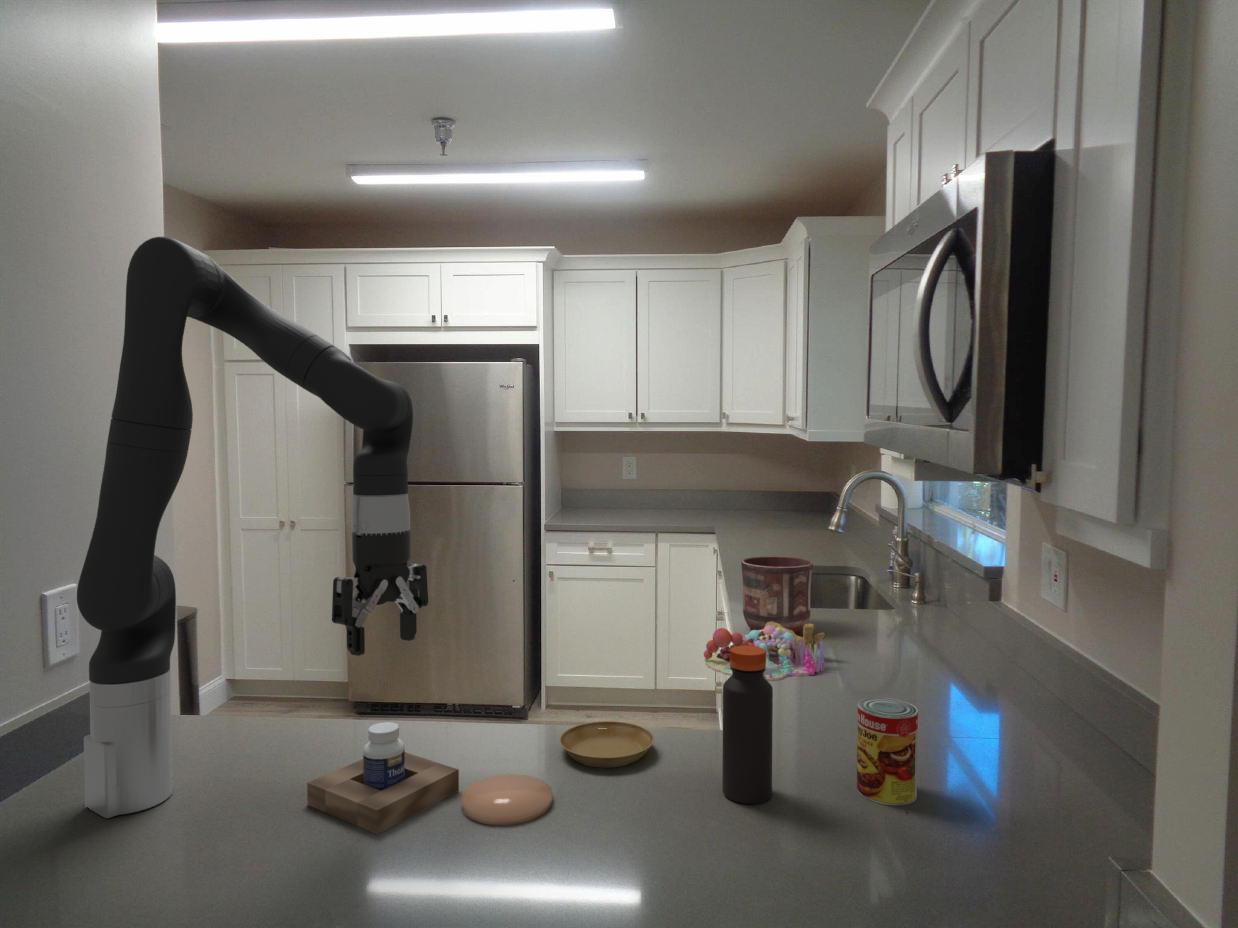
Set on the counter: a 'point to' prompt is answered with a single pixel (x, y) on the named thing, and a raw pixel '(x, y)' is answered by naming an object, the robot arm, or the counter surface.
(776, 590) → the pottery
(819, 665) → the candy landscape model
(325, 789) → the block
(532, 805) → the salmon pink disc
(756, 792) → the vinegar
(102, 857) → the counter surface
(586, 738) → the plant saucer
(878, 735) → the canned food
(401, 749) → the pill bottle
